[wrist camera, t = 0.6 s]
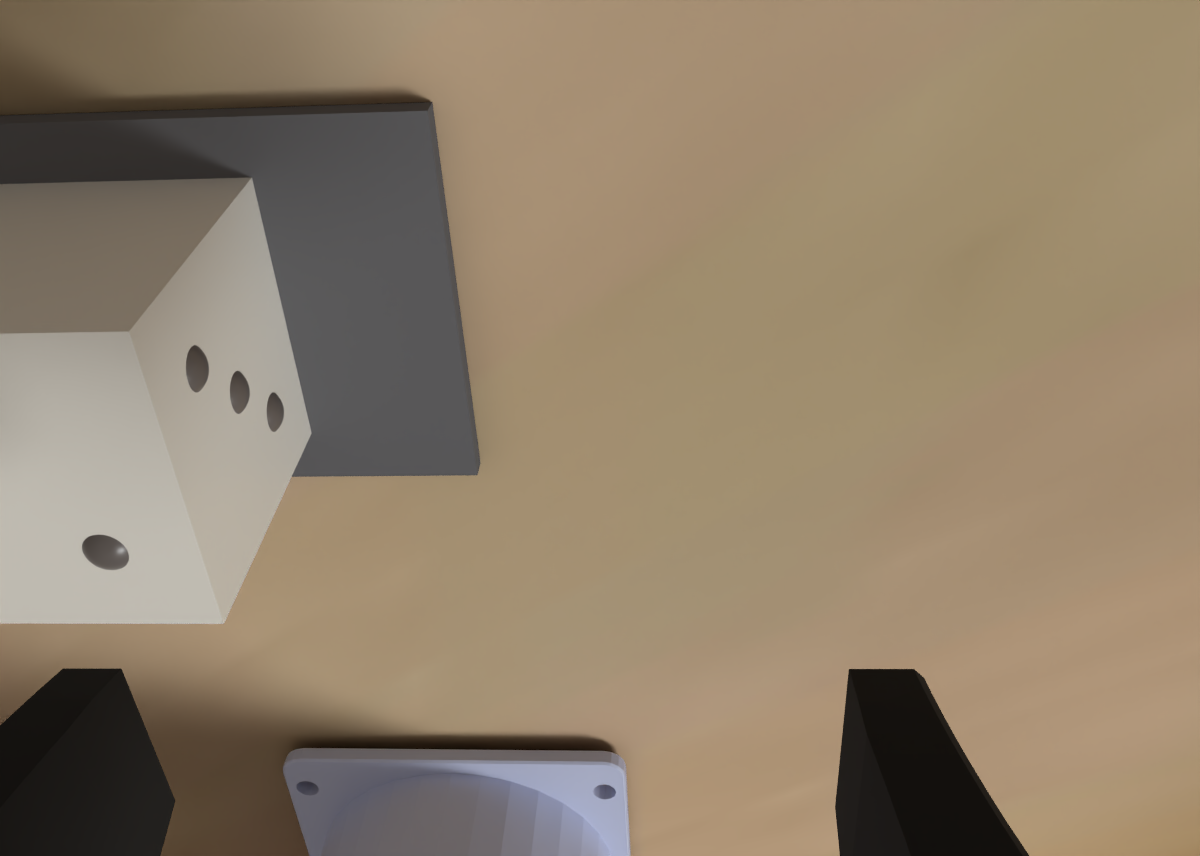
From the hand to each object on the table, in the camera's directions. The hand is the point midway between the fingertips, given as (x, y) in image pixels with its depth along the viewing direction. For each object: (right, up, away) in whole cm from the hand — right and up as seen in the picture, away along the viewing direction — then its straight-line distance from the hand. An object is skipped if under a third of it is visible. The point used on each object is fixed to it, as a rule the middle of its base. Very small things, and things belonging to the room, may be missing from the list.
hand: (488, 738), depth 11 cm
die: (-7, +5, +8) cm, 12 cm away
